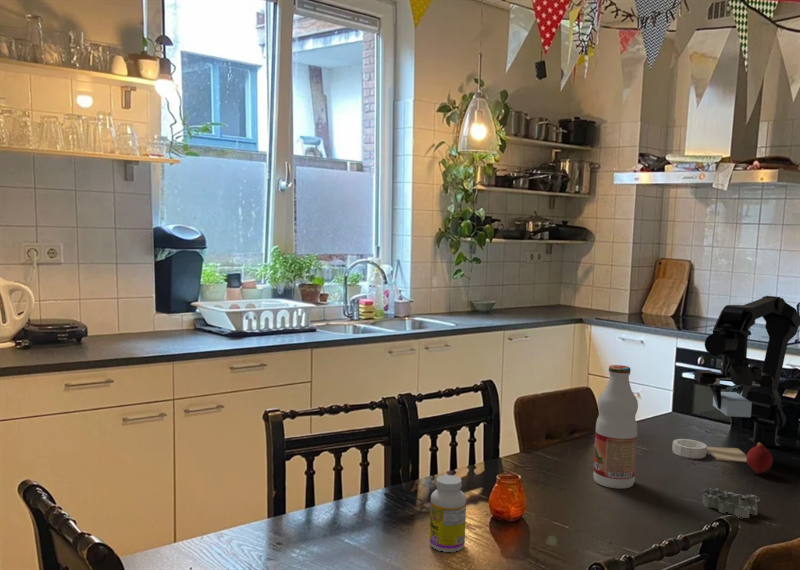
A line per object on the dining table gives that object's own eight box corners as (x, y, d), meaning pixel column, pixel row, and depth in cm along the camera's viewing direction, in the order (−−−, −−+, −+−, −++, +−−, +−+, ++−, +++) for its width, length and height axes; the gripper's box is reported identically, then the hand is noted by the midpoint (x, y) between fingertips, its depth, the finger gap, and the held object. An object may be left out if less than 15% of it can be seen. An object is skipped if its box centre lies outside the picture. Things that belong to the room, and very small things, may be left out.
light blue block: (712, 405, 192) (713, 391, 191) (735, 406, 191) (736, 392, 191) (726, 416, 181) (727, 401, 181) (750, 417, 180) (751, 402, 180)
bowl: (668, 447, 192) (669, 438, 192) (700, 449, 191) (700, 440, 191) (677, 457, 183) (678, 447, 183) (710, 459, 183) (711, 449, 182)
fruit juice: (623, 492, 158) (630, 372, 155) (585, 481, 164) (591, 366, 162) (640, 482, 164) (647, 367, 162) (604, 472, 171) (610, 361, 168)
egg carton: (762, 515, 148) (763, 497, 147) (742, 523, 144) (743, 504, 143) (716, 498, 157) (717, 480, 156) (696, 504, 152) (697, 486, 152)
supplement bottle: (427, 538, 132) (429, 472, 131) (461, 537, 132) (463, 472, 131) (431, 554, 125) (433, 486, 124) (467, 554, 126) (470, 485, 125)
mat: (704, 447, 193) (704, 446, 193) (737, 449, 192) (737, 448, 192) (717, 460, 182) (717, 459, 182) (753, 462, 181) (753, 461, 181)
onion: (765, 470, 175) (767, 439, 175) (775, 478, 170) (777, 446, 169) (741, 469, 176) (743, 438, 175) (751, 477, 170) (753, 445, 170)
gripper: (708, 356, 178) (704, 415, 179) (784, 359, 176) (780, 419, 177) (695, 348, 189) (691, 404, 190) (766, 351, 187) (762, 408, 188)
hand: (731, 409), depth 186 cm, fingers closed on light blue block, 6 cm apart
